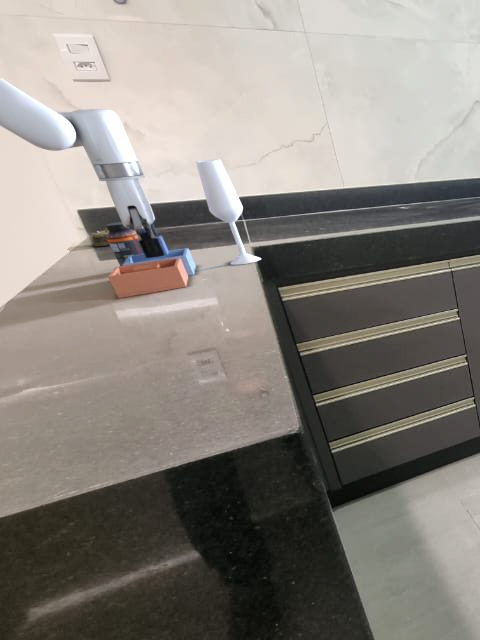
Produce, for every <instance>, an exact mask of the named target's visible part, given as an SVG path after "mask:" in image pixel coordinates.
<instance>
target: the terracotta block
mask: <svg viewBox="0 0 480 640" xmlns="http://www.w3.org/2000/svg"><path fill="white" fill-rule="evenodd" d="M159 268H161V267H160V265H159V263H156V264H149V265H142V266H136V267H135V268H134V270H133V271H134V272H140V271H146V270H153V269H159Z"/></svg>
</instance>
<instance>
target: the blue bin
mask: <svg viewBox="0 0 480 640" xmlns="http://www.w3.org/2000/svg"><path fill="white" fill-rule="evenodd" d="M168 251H169V253H168V255H166V256H160V257H153V258H145V256H144V254H142V255H134V256H128V258H127V259H126V261H125V262H124V263H123V266H125V265H132V264H139V263H146V262H152V261H159V260H166V259H173V258H181V261H182V263H183V265H184V268H185V270H186V272H187V275H188V277H189V276H194V275H195V272H196V263H195V261H194V259H193V257H192V254H191V252H190V249H189V247H185V248H178V249H171V250H170V249H169V250H168Z"/></svg>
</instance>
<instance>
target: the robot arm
mask: <svg viewBox="0 0 480 640" xmlns="http://www.w3.org/2000/svg"><path fill="white" fill-rule="evenodd" d="M0 127H2V128H4V129H5V130H7V131H9V132H10V133H12V134H13V135H16V136H17V137H19V138H21V139H22V140H24V141H26V142H27V143H29V144H31V145H32V146H35V147H37V148H39V149H43V150H46V151H51V152H52V151H53V152H54V151H55V152H56V151H63V150H67V149H72V148H79V147H83V149H84V151H85V153H86V155H87V157H88V159H89V161H90V164H91V166H92V168H93V170H94V172H95V174H96V176H97V179H98V181H99V182H105V184H106V187H107V190H108V192H109V195H110V198H111V200H112V202H113V204H114V207H115V210H116V212H117V214H118V216H119V219H120V222H122V224H123V226H124V227H126V228H129V227H130V228H131V226H132V227H133V230H134V231H135V232H136V234H137V236H138V239H139V240H140V241H139V242H140V244H141V247H142V249H143V251H144V253H145V255H146V257H147V258H153V257H160V256H164V252H163V250H162V248H161V245H160V243H159V241H158V239H157V238H155V236H160V234H158V230H157V229H156V226H155V224H154V222H155V220H156V217H155V214H154V211H153V208H152V205H151V204H150V200H149V198H148V196H147V193H146V191H145V189H144V186H143V185H142V183H141V180H140V179H142V178H145V173H144V172H143V170H142V169H143V168H142V167H141V165H140V163H139V160H138V158H137V156H136V153H135V152H134V148H133V147H132V144H131V142H130V139H129V137H128V135H127V132H126V130H125V127H124V125H123V123H122V121H121V118H120V116H119V115H118V114H117V112H116V111H113V110H111V109H108V108H107V109H106V108H89V109H76V110H72V111H58V110H57V111H55V110H53V109H51V108H50V107H48V106H46V105H45V104H44V103H42V102H40V101H39V100H37V99H35V98H34V97H32V96H30V95H28V94H27V93H25V92H24V91H22V90H21V89H19V88H18V87H16V86H15V85H13V84H11V83H10V82H8V81H7V80H5V79H4V78H2V77H0Z"/></svg>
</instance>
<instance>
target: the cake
mask: <svg viewBox="0 0 480 640" xmlns="http://www.w3.org/2000/svg"><path fill="white" fill-rule="evenodd" d="M108 233H109V230H108V229H107V227H106V226H105V229H104V230H101V231H98V232H95V233H93V234H91V239H92V241H93V247H104V246H110V244H109V242H108V240H107V238H106V236H107V235H108Z"/></svg>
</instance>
